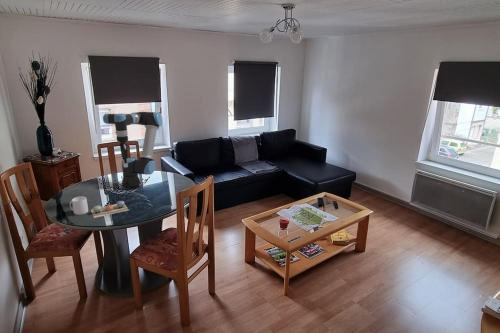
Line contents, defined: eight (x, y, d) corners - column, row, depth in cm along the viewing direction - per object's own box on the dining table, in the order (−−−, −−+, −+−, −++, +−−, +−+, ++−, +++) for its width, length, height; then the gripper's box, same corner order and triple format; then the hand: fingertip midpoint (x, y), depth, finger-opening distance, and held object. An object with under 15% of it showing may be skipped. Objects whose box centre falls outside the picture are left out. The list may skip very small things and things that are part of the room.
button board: (90, 211, 214) (90, 209, 213) (123, 204, 226) (123, 202, 225) (94, 219, 202) (94, 217, 201) (129, 211, 214) (129, 210, 213)
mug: (75, 209, 215) (73, 195, 212) (91, 211, 213) (89, 196, 210) (66, 215, 207) (64, 200, 204) (83, 216, 205) (80, 202, 202)
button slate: (116, 206, 218) (116, 201, 217) (123, 205, 221) (123, 200, 219) (118, 209, 214) (117, 204, 213) (125, 207, 217) (124, 202, 216)
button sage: (93, 211, 210) (92, 206, 209) (101, 209, 212) (100, 204, 211) (94, 214, 206) (93, 209, 205) (102, 212, 209) (101, 207, 207)
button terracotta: (105, 210, 214) (104, 205, 213) (112, 209, 217) (112, 204, 216) (106, 213, 210) (106, 208, 209) (114, 211, 213) (113, 206, 212)
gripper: (114, 134, 223) (118, 165, 231) (118, 138, 213) (122, 170, 221) (125, 133, 227) (128, 163, 235) (129, 136, 217) (133, 168, 225)
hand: (125, 166), depth 228 cm, fingers closed
